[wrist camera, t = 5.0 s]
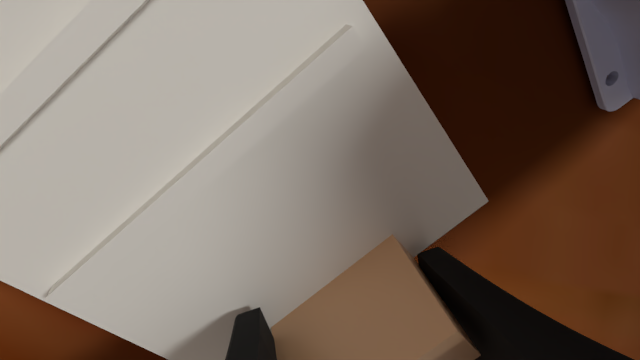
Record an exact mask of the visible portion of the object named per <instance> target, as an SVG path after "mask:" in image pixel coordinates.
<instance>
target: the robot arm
mask: <svg viewBox="0 0 640 360" xmlns="http://www.w3.org/2000/svg"><path fill="white" fill-rule="evenodd" d="M565 2H566V5H567V9H568V12H569V15H570V18H571V21H572V25H573V28H574V31H575V34H576V38H577V41H578V44H579V47H580V50H581V54H582V57H583V60H584V63H585V66H586V70H587V73H588V76H589V79H590V82H591V86H592V89H593V92H594V95H595V98H596V102H597V105H598V107H599V108H600V109H603V110H606V111H609V112H611V111H615V110H617V109H619V108H620V107H622V106H623V105H624V104H626V103H627V102H628V101H630V100H631V99H632V98H636V99H640V0H565ZM607 76H608V77H607ZM606 78H607V79H606ZM418 262H419V267H420V268H421V269H422V271H423V272H424V274H425V275H426V277H427V278H428V280H429V281H430V282H431V284H432V285H433V287H434V288H435V290H436V291H437V293H438V294H439V295H440V297H441V298H442V300H443V301H444V302H445V304H446V305H447V306H448V308H449V309H450V311H451V312H452V314H453V315H454V317H455V318H456V319H457V321H458V322H459V324H460V325H461V327H462V328H463V330H464V331H465V332H466V334H467V335H468V337H469V338H470V340H471V341H472V343H473V344H474V346H475V347H476V348H477V350H478V351H479V353H480V354H481V356H479V357H478V358H476V359H475V360H634V359H632V358H629V357H627V356H625V355H623V354H621V353H619V352H616V351H614V350H612V349H610V348H608V347H606V346H604V345H602V344H600V343H598V342H596V341H594V340H592V339H590V338H588V337H586V336H584V335H582V334H580V333H578V332H576V331H574V330H572V329H570V328H568V327H566V326H564V325H563V324H561V323H559V322H557V321H555V320H553V319H552V318H550V317H548V316H546V315H545V314H543V313H541V312H539V311H537V310H536V309H534V308H532V307H530V306H529V305H527V304H525V303H524V302H522V301H520V300H519V299H517V298H515V297H514V296H512V295H511V294H509V293H507V292H506V291H504V290H503V289H501V288H499V287H498V286H496V285H495V284H493V283H491V282H490V281H488V280H487V279H485V278H484V277H482V276H481V275H479V274H478V273H476V272H475V271H473V270H472V269H470V268H469V267H467V266H466V265H464V264H463V263H461V262H460V261H459V260H457V259H456V258H454V257H453V256H451V255H450V254H448V253H447V252H446V251H444V250H443V249H441V248H439V247H436V248H433V249H430V250H427V251H424V252H421V253H418ZM225 360H277V357H276V349H275V342H274V337H273V335H272V333H271V331H270V329H269V326H268V324H267V322H266V320H265V317H264V315H263V313H262V311H261V309H260V307H259V308H256V309H253V310H250V311H247V312H244V313H241V314H238V315H237V316H236V318H235V321H234V326H233V330H232V335H231V339H230V343H229V347H228V351H227V354H226V358H225Z"/></svg>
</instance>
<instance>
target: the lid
mask: <svg viewBox="0 0 640 360" xmlns="http://www.w3.org/2000/svg"><path fill="white" fill-rule="evenodd" d="M487 202H488V199H487V198H486V196H485V194H484V193H483V191H482V190H481V188H480V186H479V185H478V183H477V182H476V180H475V178H474V177H473V175H472V174H471V172H470V170H469V169H468V167H467V166H466V164H465V163H464V161H463V159H462V158H461V156H460V155H459V153H458V151H457V150H456V148H455V147H454V145H453V143H452V142H451V140H450V139H449V137H448V135H447V134H446V132H445V131H444V129H443V127H442V126H441V124H440V123H439V121H438V119H437V118H436V116H435V115H434V113H433V112H432V110H431V108H430V107H429V105H428V104H427V102H426V100H425V99H424V97H423V96H422V94H421V92H420V91H419V89H418V88H417V86H416V84H415V83H414V81H413V80H412V78H411V76H410V75H409V73H408V72H407V70H406V68H405V67H404V65H403V64H402V62H401V61H400V59H399V57H398V56H397V54H396V53H395V51H394V49H393V48H392V46H391V45H390V43H389V41H388V40H387V38H386V37H385V35H384V33H383V32H382V30H381V29H380V27H379V25H378V24H377V22H376V21H375V19H374V17H373V16H372V14H371V13H370V11H369V10H368V8H367V6H366V5H365V3H364V2H363V0H0V281H3V282H5V283H7V284H9V285H11V286H13V287H15V288H17V289H20V290H22V291H24V292H26V293H28V294H30V295H32V296H34V297H36V298H39V299H41V300H43V301H45V302H47V303H49V304H51V305H53V306H56V307H58V308H60V309H62V310H64V311H66V312H68V313H70V314H73V315H75V316H77V317H79V318H81V319H83V320H85V321H87V322H89V323H92V324H94V325H96V326H98V327H100V328H102V329H104V330H106V331H109V332H111V333H113V334H115V335H117V336H119V337H121V338H123V339H126V340H128V341H130V342H132V343H134V344H136V345H138V346H140V347H143V348H145V349H147V350H149V351H151V352H153V353H155V354H157V355H159V356H162V357H164V358H166V359H168V360H225V358H226V354H227V351H228V347H229V343H230V339H231V335H232V330H233V326H234V321H235V318H236V316H237V315H238V314H241V313H244V312H247V311H250V310H253V309H256V308H259V307H260V309H261V311H262V313H263V315H264V317H265V320H266V322H267V324H268V326H269V329H270V331H271V333H272V335H273V337H274V342H275V349H276V357H277V360H475V359H476V358H478V357H479V356H481V354H480V353H479V351H478V350H477V348H476V347H475V346H474V344H473V343H472V341H471V340H470V338H469V337H468V335H467V334H466V332H465V331H464V330H463V328H462V327H461V325H460V324H459V322H458V321H457V319H456V318H455V317H454V315H453V314H452V312H451V311H450V309H449V308H448V306H447V305H446V304H445V302H444V301H443V300H442V298H441V297H440V295H439V294H438V293H437V291H436V290H435V288H434V287H433V285H432V284H431V282H430V281H429V280H428V278H427V277H426V275H425V274H424V272H423V271H422V269H421V268H420V267H419V265H418V263H417V262H416V260H415V259H414V257H415V256H416V255H417V254H418V253H420V252H421V251H423V250H424V249H425V248H427V247H428V246H429V245H431V244H432V243H433V242H435V241H436V240H437V239H439V238H440V237H441V236H443V235H444V234H445V233H447V232H448V231H449V230H451V229H452V228H453V227H455V226H456V225H458V224H459V223H460V222H462V221H463V220H464V219H466V218H467V217H468V216H470V215H471V214H472V213H474V212H475V211H476V210H478V209H479V208H480V207H482V206H483V205H484V204H486V203H487Z"/></svg>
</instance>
